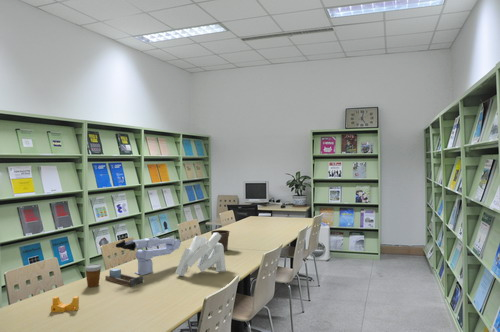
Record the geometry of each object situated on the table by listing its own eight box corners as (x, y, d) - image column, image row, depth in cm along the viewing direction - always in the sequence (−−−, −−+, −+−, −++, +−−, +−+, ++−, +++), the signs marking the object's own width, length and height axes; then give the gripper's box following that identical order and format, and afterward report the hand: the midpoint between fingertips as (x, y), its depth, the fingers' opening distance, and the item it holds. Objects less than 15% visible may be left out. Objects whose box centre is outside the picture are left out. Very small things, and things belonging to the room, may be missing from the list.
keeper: (116, 277, 251) (116, 268, 251) (120, 278, 248) (121, 269, 248) (109, 279, 246) (109, 269, 246) (114, 280, 244) (114, 271, 244)
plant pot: (208, 249, 334) (208, 230, 334) (225, 247, 341) (225, 229, 341) (214, 253, 319) (214, 233, 319) (232, 251, 326) (232, 232, 326)
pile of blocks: (197, 291, 239) (223, 241, 241) (164, 267, 253) (189, 220, 255) (222, 290, 270) (245, 246, 272) (191, 268, 284) (214, 226, 286)
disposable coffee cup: (83, 288, 228) (83, 268, 228) (85, 283, 237) (85, 264, 237) (100, 287, 230) (100, 267, 230) (102, 282, 240) (102, 263, 240)
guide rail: (116, 276, 253) (116, 270, 253) (143, 282, 239) (143, 276, 239) (105, 279, 246) (105, 273, 246) (131, 286, 232) (131, 280, 232)
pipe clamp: (50, 312, 192) (50, 299, 192) (54, 309, 197) (55, 296, 196) (75, 312, 193) (75, 299, 193) (78, 308, 197) (78, 296, 197)
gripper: (130, 237, 260) (113, 238, 248) (144, 239, 252) (127, 241, 240) (129, 247, 259) (112, 249, 248) (144, 250, 251) (127, 252, 240)
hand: (120, 246), depth 244 cm, fingers open, 7 cm apart
